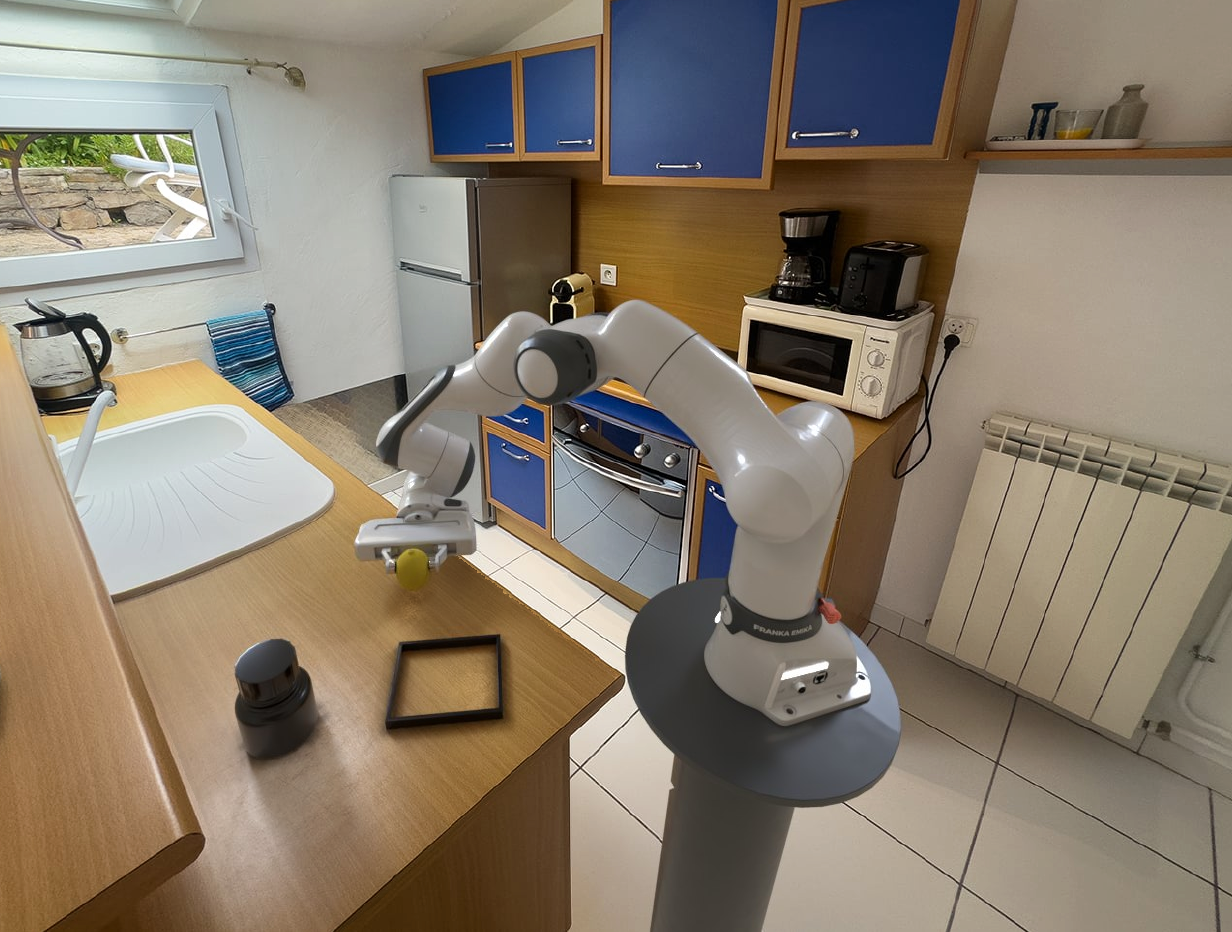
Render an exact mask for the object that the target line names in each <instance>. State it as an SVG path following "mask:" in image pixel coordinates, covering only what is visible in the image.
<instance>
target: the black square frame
mask: <svg viewBox="0 0 1232 932" xmlns="http://www.w3.org/2000/svg"><path fill="white" fill-rule="evenodd" d="M501 638H502V637H501V633H496V634H494V633H493V634H480V635H471V636H458V637H444V638H431V639H430V638H429V639H418V640H417V639H415V640H406V641H405V640H404V641H403V640H402V641H399V642H398V645H397V650H396V656H395V660H394V661H395V662H394V668H393V672H392V673H393V674H392V679H391V685H390V691H389V696H388V703H387V708H386V712H385V713H386V715H385V718H384V719H385V720H384V725H385V730H386V731H389V730H400V729H409V728H411V729H412V728H420V727H432V726H443V725H452V724H463V723H475V722H485V721H496V720H504V700H503V695H504V694H503V671H502V670H503V669H502V667H503V666H502V640H501ZM494 645H496V660H497V661H496V664H497V666H496V669H497V707H490V708H481V709H479V708H478V709H469V710H457V711H445V712H435V713H425V714H415V715H414V714H413V715H403V716H394V711H395V705H396V699H397V694H398V686H399V681H400V675H401V669H402V668H401V667H402V661H403V655H404V652H405V653H406V652H416V651H417V652H418V651H430V650H443V649H455V648H469V647H479V646H480V647H482V646H494Z"/></svg>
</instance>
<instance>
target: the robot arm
mask: <svg viewBox="0 0 1232 932" xmlns="http://www.w3.org/2000/svg"><path fill="white" fill-rule="evenodd" d="M615 378H617V379H620V380H622V381H623V382H625V383H626V384H628V385H629V386H630V387H631V388H633V390H635V391H636V392H637V393H638V394H639V395H641V396H642V398H644V399H645V400H647V401H648V402H649V403H650V404H651V405H652V406H653V407H654V408H656V409H657V410H658V411H659V412H660V413H662V415H664V416H665V417H666V418H668V420H670V422H672V423H673V424H674V425H675V426H676V427H678V429H680V430H681V431H682V432H683V433H684V434H685V435H686V436H687V437H688V438H689V439H690V440H691V441H692V442H693V444H694V445H695V446H696V447H697V448H698V450H699V451H700V453H701V454H702V455H703V457H704V458H705V460H706V461H707V462H708V464H709V466H710V467H711V468H712V470H713V472H714V474H715V475H716V476H717V478H718V480H719V482H720V484H721V487H722V491H723V493H724V501H725V505H726V508H727V511H728V513H729V514H730V516H731V518H732V520H733V521H734V522H735V524H736V525H737V527H736V530H735V535H734V541H733V546H732V553H731V560H730V565H729V570H728V572H727V573H726V575H725V577H724V578H725V582H724V586H723V592H722V598H721V605H720V612H719V614H718V615H717V617H716V620H715V622H718V623H717V626H716V628H715V630H714V633H713V634H712V636H711V638H710V639H709V641H708V643H707V644H706V647H705V651H704V661H705V665H706V668H707V670H708V672H709V674H710V676H711V677H712V679H713V680H714V682H715V683H716V684H717V685H718V686H719V687H720V688H721V689H722V690H723V691H724V692H725V693H726V694H728V695H729V696H731V697H732V698H734V699H735V700H737V701H739V702H741V703H743V704H745V705H747V706H750V707H752V708H755V709H757V710H759V711H761V712H762V713H763V714H765V715H766V716H767V717H768V718H770V719H771V720H772V721H774V722H775V723H777V724H779V725H781V726H789V725H792V724H795V723H799V722H802V721H805V720H808V719H811V718H814V717H817V716H820V715H823V714H827V713H830V712H833V711H836V710H839V709H842V708H845V707H848V706H851V705H854V704H858V703H861V702H864V701H867V700H869V699H870V698H871V683H870V679H869V676H868V674H867V672H866V670H865V668H864V666H863V664H862V663H861V661H860V659H859V658H858V656H857V655H856V651H855V648H854V645H853V643H852V641H851V639H850V637H849V635H848V634H847V632H846V631H845V629H844V628H843V627H842V625H841V624H840V623H839V622H838V621H840V622H841V619H842V614H841V612H840V611H839V610H837V609H838V607H837V605H836V604H835V602H834V600H833V598H831V597H830V598H829V597H828V598H827V597H824V594H823V592H821V590H820V589H819V583H820V581H821V575H822V571H823V567H824V563H825V559H826V555H827V552H828V548H829V545H830V541H831V539H832V535H833V531H834V529H835V525H836V522H837V519H838V516H839V512H840V509H841V505H842V501H843V499H844V495H845V491H846V487H847V484H848V480H849V477H850V474H851V470H852V465H853V462H854V457H855V449H856V442H855V441H856V440H855V433H854V432H855V431H854V428H853V426H852V423H851V421H850V420H849V418H848V417H847V416H846V415H845V413H843V411H841V410H840V409H838V408H836V407H835V406H833V405H831V404H830V403H829V404H828V403H826V402H822V401H813V400H812V401H804V402H801V403H797V404H795V405H792V406H790V407H788V408H786V409H784V410H782V411H780V412H779V413H778V414H775V413H774V412H773V411H772V409H771V408H770V407H769V405H768V404H767V403H766V402H765V401H764V399H763V398H762V397H761V395H760V394H759V393H758V391H757V390H756V388H755V386H754V384H753V382H752V379H751V375H750V374H749V372H748V371H747V370H746V368H745V367H743V366H741V364H739V363H738V362H737V361H736V360H734V359H733V358H732V357H730V356H729V355H728V354H726V353H725V352H723V350H721V349H719V348H718V347H717V346H716V345H715V344H713V343H712V342H710V340H708V339H707V338H705V337H704V335H701V333H699V332H698V331H696V330H695V329H694V328H692V327H691V326H690V325H688V324H687V323H685V322H683V320H680V319H679V318H677V317H676V316H674V315H673V314H671V313H669V312H667V311H665V310H664V309H661V308H660V307H658V306H656V305H653V304H651V303H649V302H647V301H645V300H642V299H630V300H627V301H625V302H622V303H621V304H619V305H617V306H616V307H615V308H614V309H613V310H611V311H610V312H592V313H588V314H584V315H583V316H578V317H575V318H569V319H565V320H563V321H560V322H557V323H555V324H553V325H551V324H549V322H548V321H547V320H546V319H545V318H543V317H542V316H540V315H538V314H536V313H534V312H531V311H526V310H525V311H516V312H513V313H510V314H509V315H508V316H506V317H505V318H504V319H503V320H502V321H501V322H500V323H499V324H498V325H497V326H496V327H495V328H494V329H493V330H492V331H491V333H490V334H489V335H488V336H487V337H486V338H485V340H484V341H483V343H482V344H481V345H480V347H479V348H478V350H477V351H476V353H475V355H473V356H472V357H471V358H469V359H467V360H466V361H463V362H461V363H458V364H451V365H444V367H442V368H441V369H439V370H438V371H437V372H436V373H434V374H433V376H432V377H430V379H428V381H427V382H425V384H424V385H422V387H421V388H420V389H419V390H418V391H417V392H416V393H415V394H414V395H413V396H412V397H411V398H410V399H409V400H408V401H407V403H406V404H405V405H404V406H403V407H402V408H400V409H399V410H398V411H397V412H395V413H394V414H393V415H392V416H390V418H389V419H387V421H385V423H384V424H383V425H382V427H381V428H380V430H379V432H378V435H377V437H376V441H375V450H376V454H377V455H378V457H379V459H380V460H381V462H382V464H384V465H387V466H390V467H393V468H397V469H402V470H404V471H406V472H408V474H407V475H406V478H405V481H404V484H403V487H402V491H401V498H400V501H399V503H398V507H397V511H396V516H395V517H391V518H390V517H389V518H388V517H387V518H374V519H370V520H368V521H366V522H365V523H362V524H361V525H360V526H359V530H358V533H357V535H356V537H355V540H354V543H353V547H354V554H355V558H356V559H357V560H358V561H360V562H377V561H382V563H383V564H384V566H385V575H396V564H397V560H398V558H399V556H400V555H401V554H402V553H403V552H405V551H406V550H409V549H419V550H421V551H423V552H424V553H425V554H426V555H427V557H428V558H429V568H430V569H429V570H430V571H431V572H439V571H440V566H441V565H442V564H443V563H444V562H445V561H446V560H447V559H448V557H458V556H459V557H460V556H471V555H473V554H475V553H476V552H477V550H478V549H477V529H476V524H475V520H474V517H473V514H471V512H470V506H469V502H468V501H466V500H462V499H458V498H457V499H456V498H454V497H455V496H457V495H459V494H460V493H461V492H462V491H463V490H464V489H465V488H466V487H467V485H468V484H469V482H470V480H471V478H472V476H473V472H474V469H475V465H476V453H475V449H474V445H473V444H472V442H471V441H470V440H469V439H466V438H464V437H462V436H459V435H458V434H455V433H452V432H450V431H448V430H445V429H442V428H440V427H438V426H435V425H433V424H431V423H429V422H427V421H428V420H429V419H430V418H431V417H432V416H433V415H434V414H435V413H437V412H441V411H454V412H455V411H456V412H464V413H469V414H473V415H476V416H477V415H478V416H482V417H490V418H491V417H502V416H506V415H509V414H510V413H512V412H514V411H515V410H517V409H518V408H520V406H521V405H523V404H524V403H525V401H527V400H528V399H529V400H530V401H532V402H534V403H536V404H538V405H541V406H557V405H563V404H567V403H570V402H571V401H573V400H575V399H576V398H577V397H580V396H583V395H585V394H588V393H590V392H594V391H597V390H599V389H600V388H602V387H603V386H605V385H607V384H608V383H610V382H611V381H612V380H614V379H615ZM861 679H862V680H861ZM787 712H789V713H791V714H789V713H787Z"/></svg>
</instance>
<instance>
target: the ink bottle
mask: <svg viewBox="0 0 1232 932" xmlns="http://www.w3.org/2000/svg"><path fill="white" fill-rule="evenodd" d="M298 659H299V658H298V655H297V649H296V646H295V645H293V643H292V642H291V641H290V640H287V639H283V638H269V639H267V640H263V641H259V642H258V643H256V644H254V645H253V646H251V647H249V648H247V650H245V651H244V652H243V654H241V655H240V656H239V657H238V660H237V661H236V663H235V665H234V678H235V681H236V683H237V688H238V693H237V696H236V698H235V700H234V701H235V703H234V714H235V718H236V721H237V725H238V729H239V732H240V736H241V739H242V742H243V746H244V749H245V750H246V752H247V753H248V754H249V755H250V756H251V757H253V758H255V759H259V760H272V759H277V758H281V757H285V756H286V755H289V754H291V753H292V752H294V751H297V750H298V749H299V748H300V747H302V746H303V745H304V744H305V743H306V742H307V741H308V740H309V739H310V737H311V736H312V734H313V732H314V731H315V729H316V726H317V723H318V719H319V714H318V705H317V701H316V696H315V692H314V687H313V682H312V678H311V675H310V674H309V672H308V671H307V670H306V669H305V668H304V667H302V666H301V665H300V664H299V660H298Z"/></svg>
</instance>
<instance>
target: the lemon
mask: <svg viewBox="0 0 1232 932" xmlns="http://www.w3.org/2000/svg"><path fill="white" fill-rule="evenodd" d="M429 561H430V558H429V557H427V555H426V554H425V553H424V552H423V551H421V550H419V549H409V550H406V551H405V552H403V553H402V554H401V555H400V556H399V558H398V559H397V560H396V574H395V577H396V579H397V583H398V584H399V586H401V587H402V588H403V589H404V590H406V591H409V592H417V591H420V590H422V589H423V588H425V586H426V585H428V583H429V581H430V579H431V576H432V575H431V574H432V571H430V570H429V569H430V568H429Z"/></svg>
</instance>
